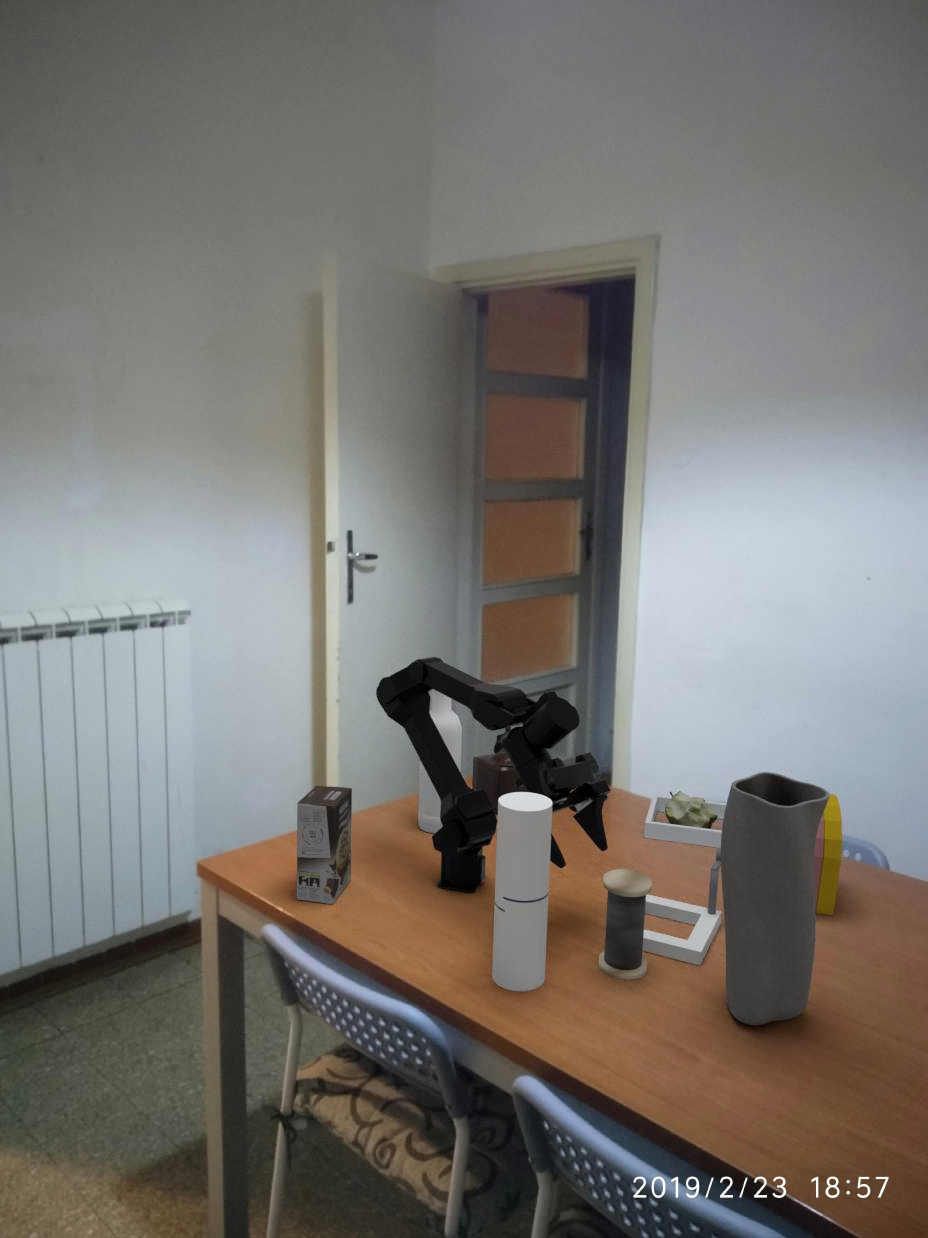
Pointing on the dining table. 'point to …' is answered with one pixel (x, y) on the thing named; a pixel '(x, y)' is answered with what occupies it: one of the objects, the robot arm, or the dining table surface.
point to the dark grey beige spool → (625, 924)
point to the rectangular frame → (687, 913)
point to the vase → (769, 895)
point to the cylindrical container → (521, 890)
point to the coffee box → (324, 843)
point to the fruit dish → (679, 831)
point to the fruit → (689, 811)
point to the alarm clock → (827, 857)
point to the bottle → (452, 737)
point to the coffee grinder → (495, 776)
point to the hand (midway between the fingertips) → (584, 858)
